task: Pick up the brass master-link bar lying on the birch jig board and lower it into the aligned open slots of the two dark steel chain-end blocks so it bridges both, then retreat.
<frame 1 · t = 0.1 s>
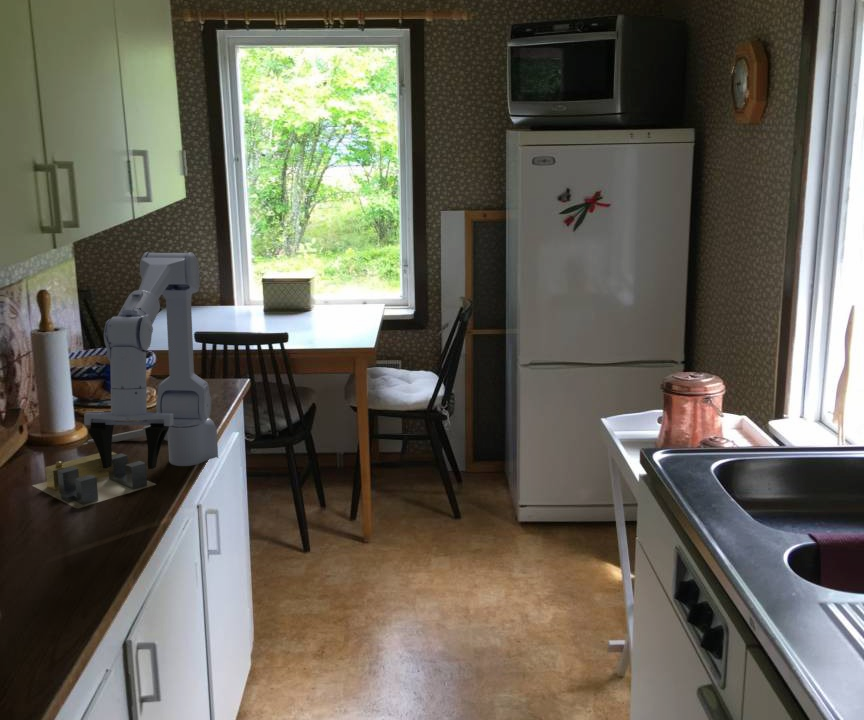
hand: (129, 467, 153), 11 cm above the worktop, tool pointing down, fingers open, 7 cm apart
jig board: (94, 488, 172), on the worktop
caliper: (130, 446, 199), on the worktop
master link: (83, 479, 175), point 1 cm above the worktop, touching jig board
chain end 1: (78, 496, 166), resting on jig board
chain end 2: (128, 482, 174), resting on jig board
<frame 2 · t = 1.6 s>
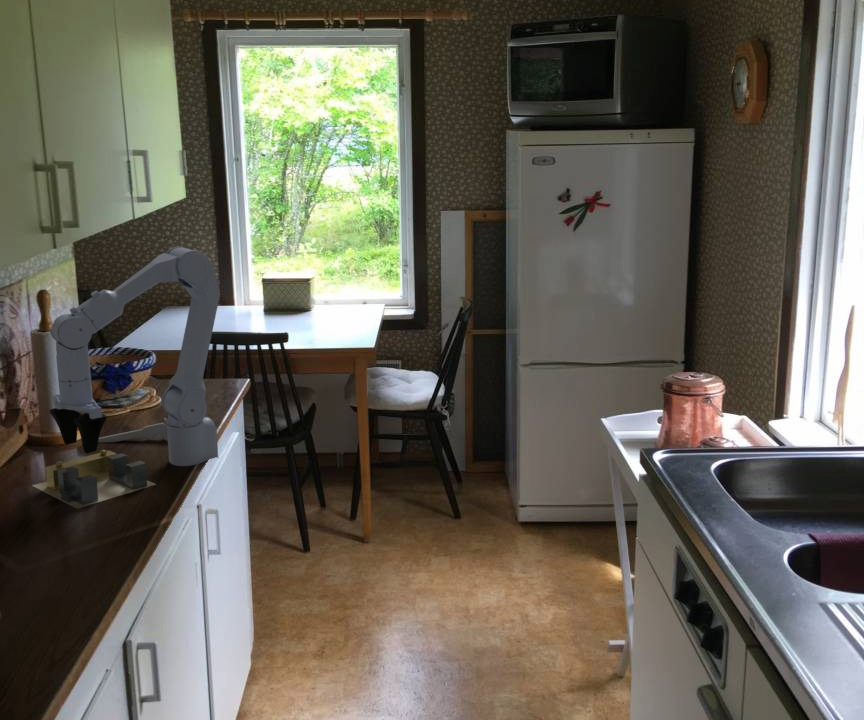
hand: (80, 447, 173), 7 cm above the worktop, tool pointing down, fingers open, 7 cm apart
nothing on the worktop moved.
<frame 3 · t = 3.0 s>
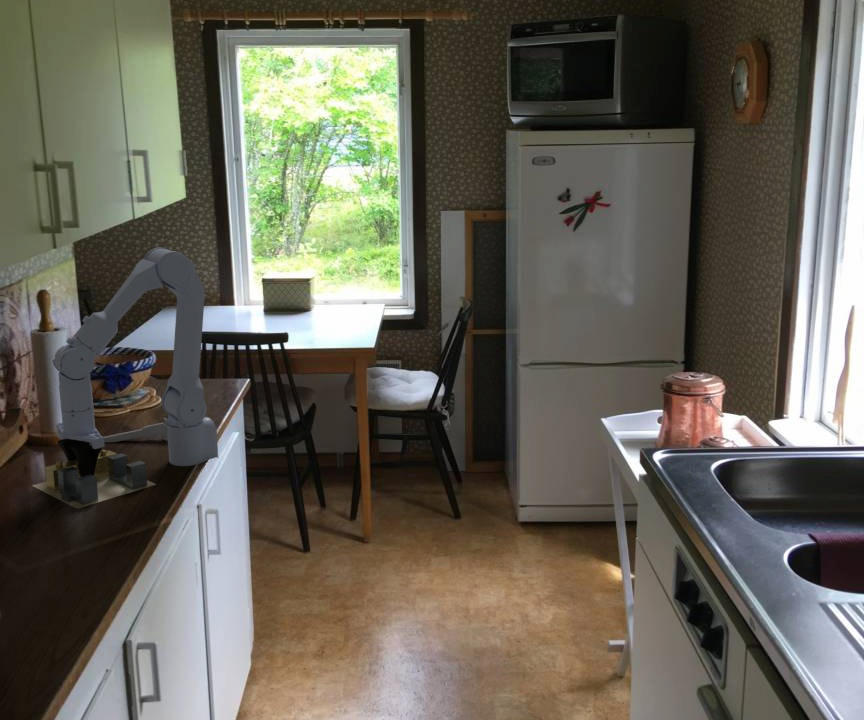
hand: (83, 476, 175), 2 cm above the worktop, tool pointing down, fingers closed on master link, 3 cm apart
master link: (83, 479, 175), point 1 cm above the worktop, touching gripper, jig board
everything else where it was.
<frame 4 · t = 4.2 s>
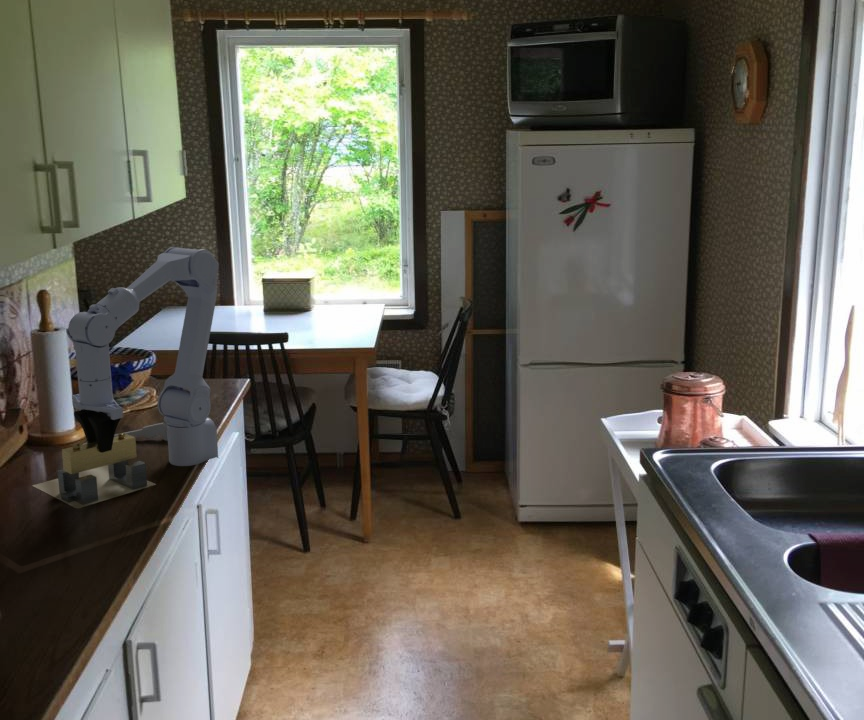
hand: (100, 448, 168), 9 cm above the worktop, tool pointing down, fingers closed on master link, 3 cm apart
master link: (100, 463, 169), point 6 cm above the worktop, touching gripper
everything else where it was.
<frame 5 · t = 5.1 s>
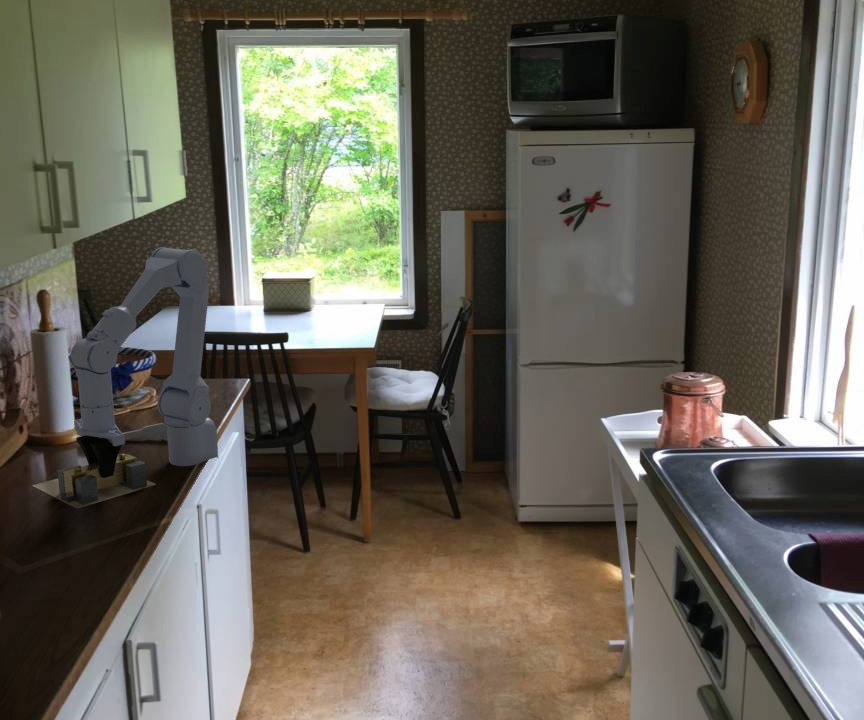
hand: (102, 474, 169), 4 cm above the worktop, tool pointing down, fingers closed on master link, 3 cm apart
master link: (102, 484, 169), point 2 cm above the worktop, touching chain end 1, chain end 2, gripper
everything else where it was.
when the fingers open (4 cm above the worktop, at t = 5.4 s): master link stays where it is, resting on chain end 1, chain end 2.
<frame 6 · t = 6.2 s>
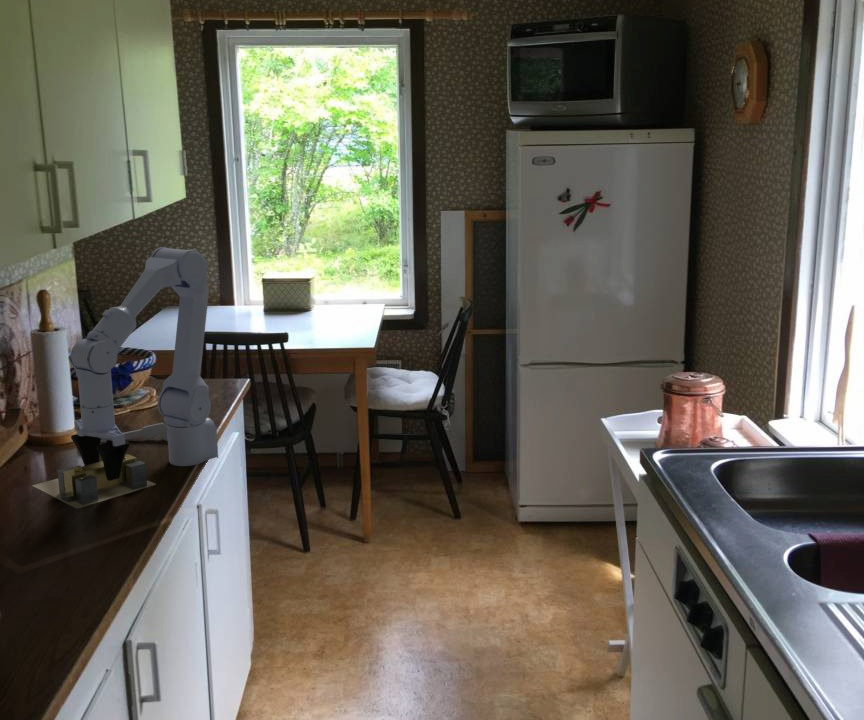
hand: (102, 474, 169), 4 cm above the worktop, tool pointing down, fingers open, 7 cm apart
master link: (102, 484, 169), point 2 cm above the worktop, touching chain end 1, chain end 2
everything else where it was.
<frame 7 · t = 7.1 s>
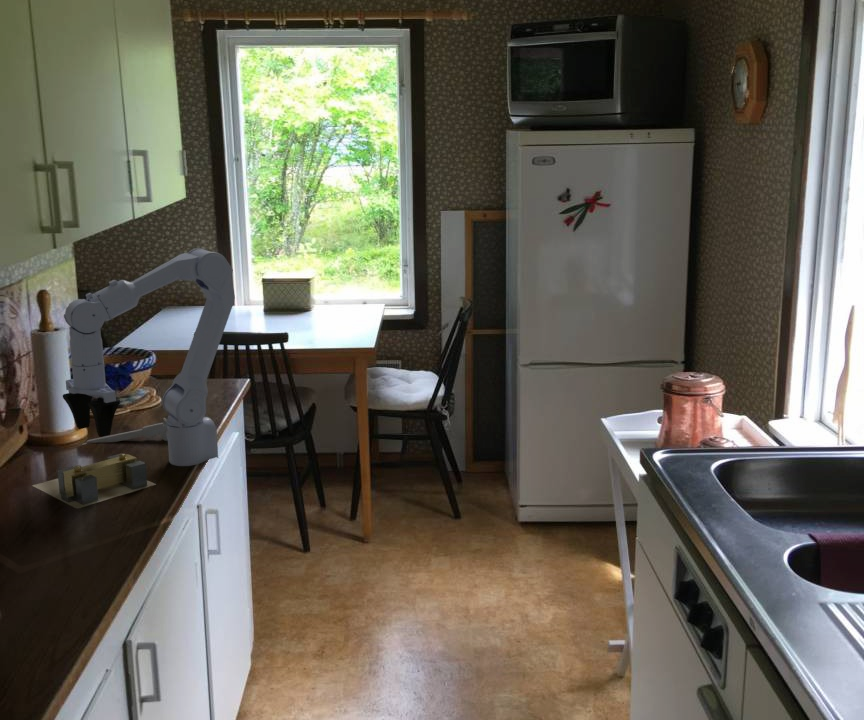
hand: (93, 431, 175), 10 cm above the worktop, tool pointing down, fingers open, 7 cm apart
nothing on the worktop moved.
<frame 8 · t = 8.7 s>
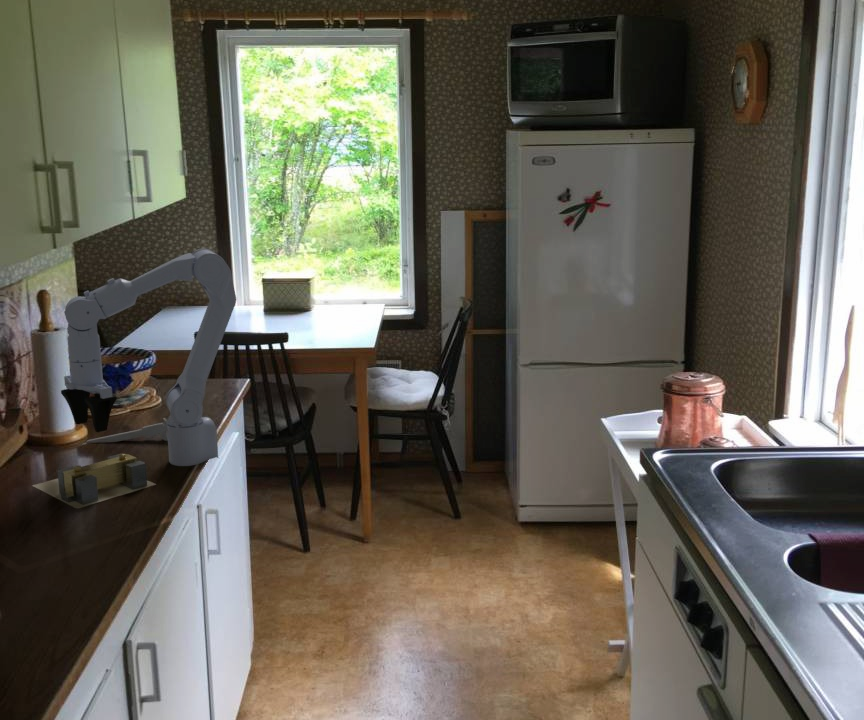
hand: (91, 427, 177), 10 cm above the worktop, tool pointing down, fingers open, 7 cm apart
nothing on the worktop moved.
at the end: master link 0.2 cm from the target spot, point 1.8 cm above the worktop; master link tilted 0°; the gripper is holding nothing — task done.
